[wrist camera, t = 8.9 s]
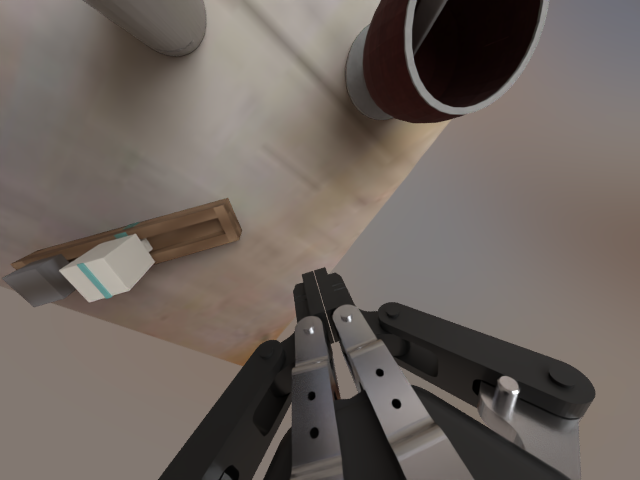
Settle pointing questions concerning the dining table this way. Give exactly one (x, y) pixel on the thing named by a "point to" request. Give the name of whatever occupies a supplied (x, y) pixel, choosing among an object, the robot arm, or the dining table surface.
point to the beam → (162, 233)
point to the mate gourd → (441, 56)
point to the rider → (110, 267)
